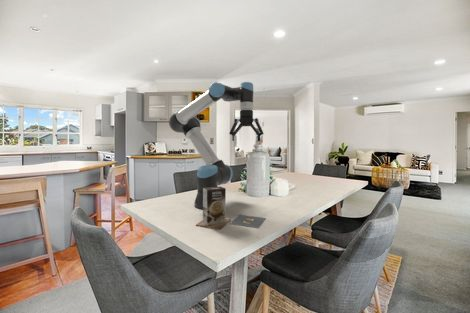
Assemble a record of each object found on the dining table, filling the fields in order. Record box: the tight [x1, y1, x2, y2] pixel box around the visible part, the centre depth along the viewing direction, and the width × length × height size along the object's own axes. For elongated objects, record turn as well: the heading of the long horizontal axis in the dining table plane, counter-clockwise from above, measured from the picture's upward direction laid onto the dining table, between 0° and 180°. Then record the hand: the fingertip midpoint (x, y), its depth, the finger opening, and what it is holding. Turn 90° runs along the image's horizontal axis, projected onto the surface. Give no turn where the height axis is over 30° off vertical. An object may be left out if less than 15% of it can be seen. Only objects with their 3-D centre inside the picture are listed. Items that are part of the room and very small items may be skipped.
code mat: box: [229, 214, 267, 229], centre depth 112 cm, size 14×14×1 cm
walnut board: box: [195, 218, 232, 231], centre depth 109 cm, size 12×12×1 cm
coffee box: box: [202, 185, 227, 225], centre depth 108 cm, size 9×6×16 cm
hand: (245, 146), depth 136 cm, fingers open, 13 cm apart
